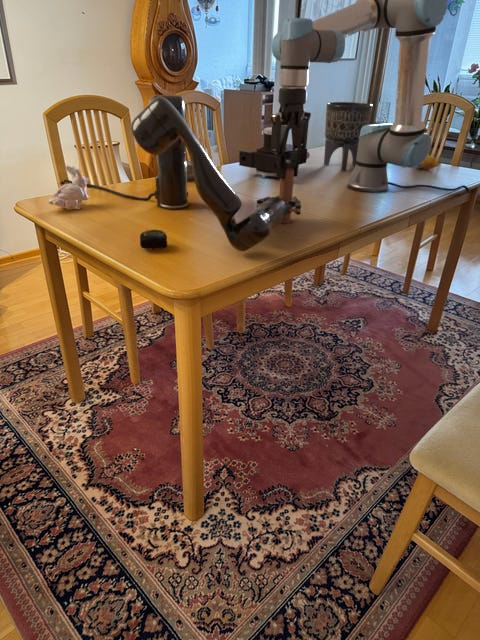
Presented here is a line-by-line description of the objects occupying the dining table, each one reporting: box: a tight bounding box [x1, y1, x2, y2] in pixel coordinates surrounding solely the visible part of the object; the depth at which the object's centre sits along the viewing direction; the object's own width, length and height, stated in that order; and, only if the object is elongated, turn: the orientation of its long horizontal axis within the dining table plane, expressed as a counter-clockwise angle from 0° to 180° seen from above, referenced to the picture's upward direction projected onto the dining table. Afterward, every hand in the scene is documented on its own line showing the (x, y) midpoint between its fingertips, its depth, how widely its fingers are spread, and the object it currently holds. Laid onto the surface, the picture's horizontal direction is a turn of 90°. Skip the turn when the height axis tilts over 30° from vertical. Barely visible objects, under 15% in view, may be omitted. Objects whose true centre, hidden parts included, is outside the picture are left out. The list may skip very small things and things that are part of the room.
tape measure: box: [139, 229, 168, 250], centre depth 117 cm, size 7×7×4 cm
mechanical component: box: [238, 126, 311, 178], centre depth 191 cm, size 22×21×30 cm
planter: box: [323, 101, 374, 172], centre depth 204 cm, size 20×20×26 cm
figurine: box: [47, 165, 90, 210], centre depth 144 cm, size 8×15×13 cm, turn 145°
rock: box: [186, 160, 195, 182], centre depth 182 cm, size 13×9×6 cm, turn 131°
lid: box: [285, 160, 296, 169], centre depth 131 cm, size 5×5×2 cm
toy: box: [417, 154, 440, 170], centre depth 211 cm, size 11×6×15 cm
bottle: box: [278, 169, 295, 224], centre depth 135 cm, size 4×4×17 cm
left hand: (287, 199), depth 139 cm, fingers closed on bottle, 4 cm apart
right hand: (286, 176), depth 133 cm, fingers closed on lid, 4 cm apart
